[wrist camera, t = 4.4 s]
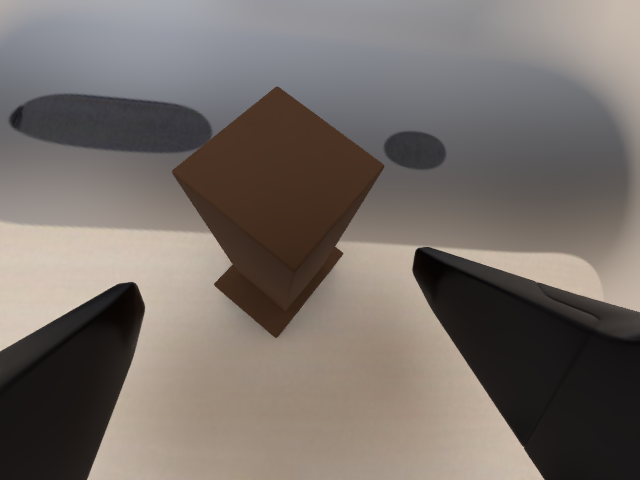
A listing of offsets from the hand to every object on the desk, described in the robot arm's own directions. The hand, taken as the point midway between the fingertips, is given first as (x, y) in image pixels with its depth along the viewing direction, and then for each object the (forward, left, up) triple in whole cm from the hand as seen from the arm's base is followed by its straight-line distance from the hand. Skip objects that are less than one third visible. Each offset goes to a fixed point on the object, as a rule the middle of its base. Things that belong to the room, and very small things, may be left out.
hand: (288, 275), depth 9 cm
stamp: (+1, +1, -9) cm, 10 cm away
